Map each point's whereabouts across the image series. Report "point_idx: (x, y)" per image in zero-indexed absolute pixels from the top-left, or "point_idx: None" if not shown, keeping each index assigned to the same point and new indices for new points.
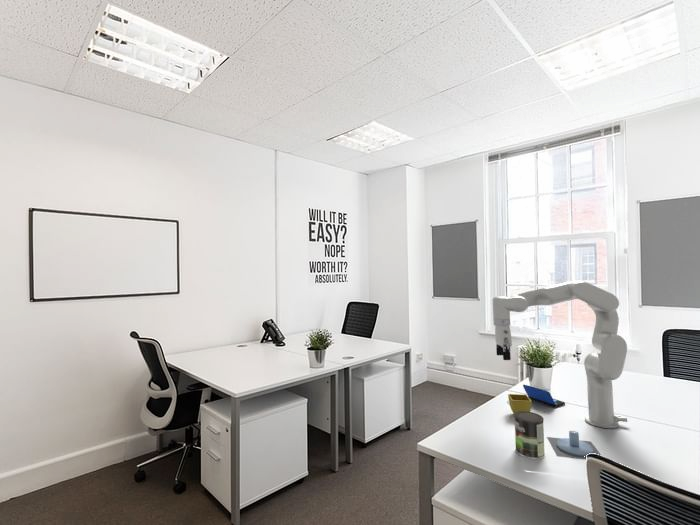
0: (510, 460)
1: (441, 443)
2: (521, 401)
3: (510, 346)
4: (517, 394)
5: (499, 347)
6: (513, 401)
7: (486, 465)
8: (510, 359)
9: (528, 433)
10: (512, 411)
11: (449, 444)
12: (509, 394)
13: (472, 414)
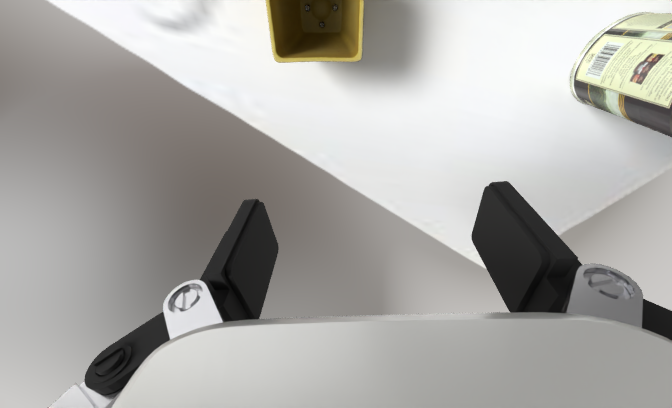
0: (628, 130)
1: None
2: (363, 9)
3: (611, 330)
4: (268, 5)
5: (242, 305)
6: (361, 54)
7: (621, 185)
8: (507, 183)
9: None
10: (312, 40)
11: None
12: (277, 54)
13: (335, 174)
